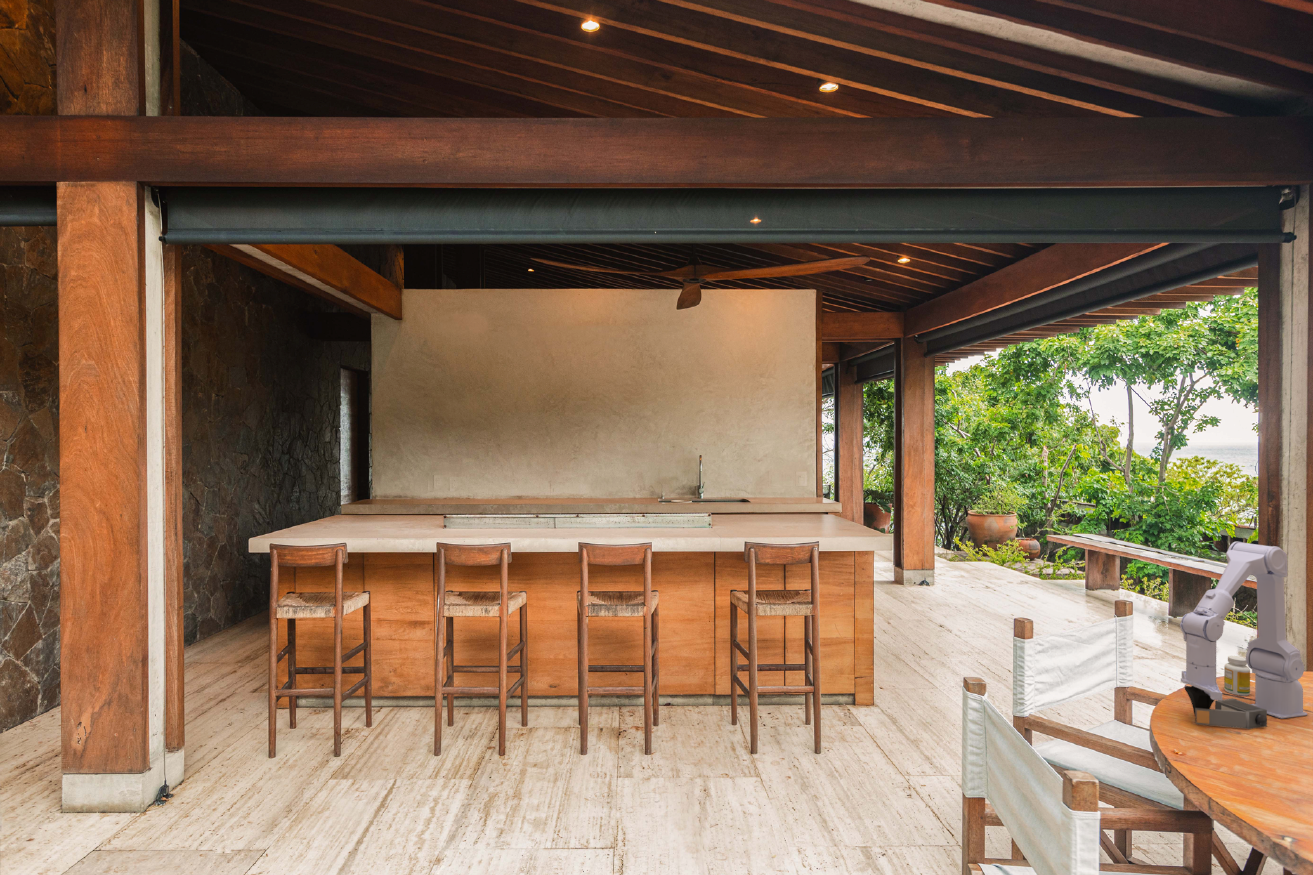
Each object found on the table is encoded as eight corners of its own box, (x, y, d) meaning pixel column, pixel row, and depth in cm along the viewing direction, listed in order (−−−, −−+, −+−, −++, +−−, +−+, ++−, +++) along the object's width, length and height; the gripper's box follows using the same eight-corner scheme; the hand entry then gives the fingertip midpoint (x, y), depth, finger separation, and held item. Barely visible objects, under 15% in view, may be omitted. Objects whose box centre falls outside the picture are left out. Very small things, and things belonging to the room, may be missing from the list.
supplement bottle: (1222, 691, 183) (1222, 657, 183) (1226, 687, 186) (1226, 653, 186) (1248, 697, 179) (1248, 662, 179) (1252, 693, 182) (1251, 658, 182)
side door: (1195, 722, 162) (1195, 707, 162) (1247, 727, 159) (1247, 711, 159) (1197, 724, 161) (1197, 708, 161) (1250, 728, 158) (1250, 713, 158)
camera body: (1232, 713, 168) (1233, 697, 168) (1270, 727, 160) (1270, 710, 160) (1215, 716, 166) (1215, 700, 166) (1252, 730, 158) (1252, 713, 158)
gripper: (1167, 652, 170) (1167, 705, 170) (1197, 671, 156) (1197, 728, 156) (1200, 654, 168) (1200, 708, 168) (1233, 674, 154) (1232, 732, 154)
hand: (1201, 718), depth 162 cm, fingers closed
